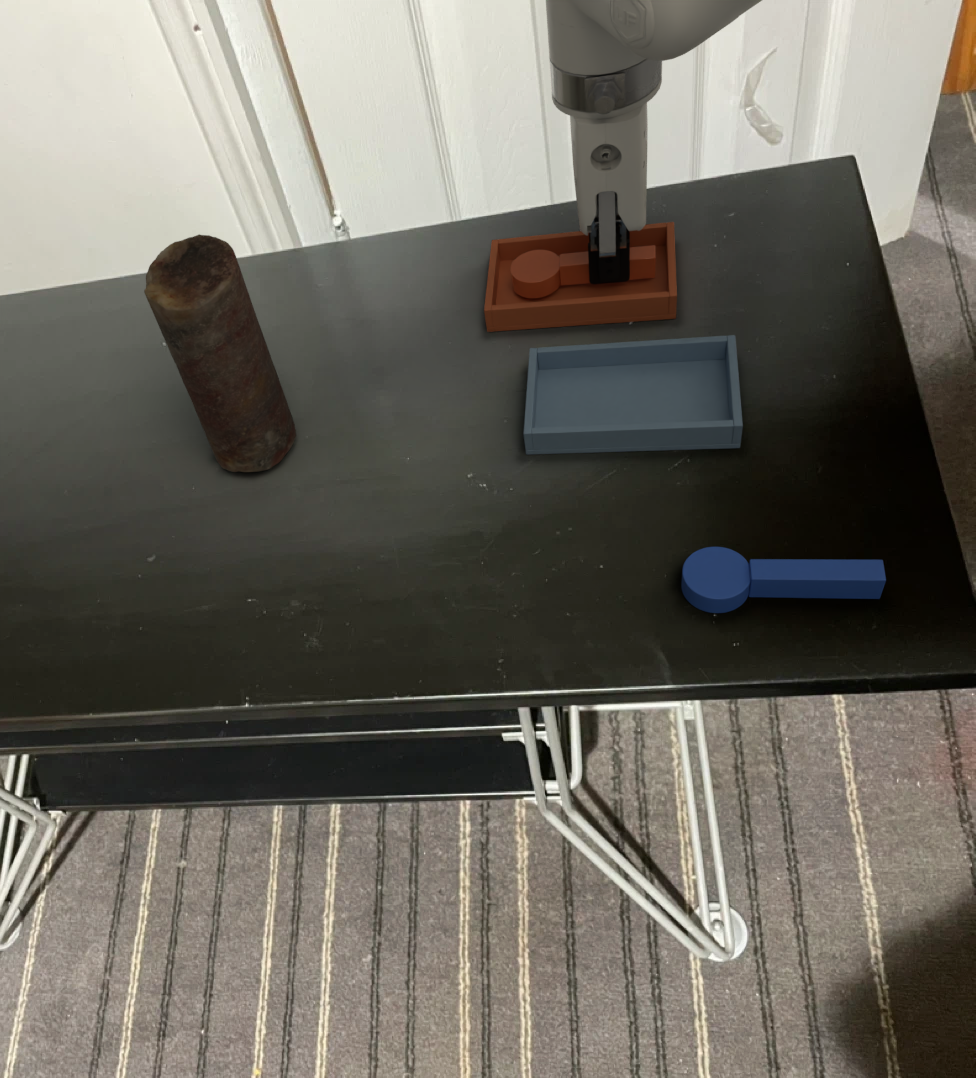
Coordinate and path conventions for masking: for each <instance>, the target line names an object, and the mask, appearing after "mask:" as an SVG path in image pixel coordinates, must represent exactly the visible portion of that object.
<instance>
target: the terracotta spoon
mask: <svg viewBox="0 0 976 1078" xmlns="http://www.w3.org/2000/svg"><path fill="white" fill-rule="evenodd" d="M655 268H656V249H655V245H651V246H640V247H630V279H629V280H634V279H646V278H655ZM510 271H511V279H512V287H513V290H514V291H515V292H516V293H517V294H518V295H520V296H522V297H525V298H541V297H545V296H547V295H550V294H551V293H553V292H554V291H556V290H557V289H558V288H559V286H560V285H561V286H563V285H575V284H587V283H590V282H589V260H588V251H587V252H577V253H566V254H560V258H559V257H558V256H557V255H556V254H555V253H553V252H551V251H548V250H532V251H529V252H526V253H523V254H521V255H520V256H518V257H517V258H516V259H515V260H514V261H513V263H512V265H511V268H510Z"/></svg>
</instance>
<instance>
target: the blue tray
mask: <svg viewBox="0 0 976 1078" xmlns="http://www.w3.org/2000/svg"><path fill="white" fill-rule="evenodd" d="M528 350H529V352H528V353H529V354H528V365H527V379H526V392H525V394H526V395H525V404H524V405H525V407H524V408H525V409H524V418H523V419H524V420H523V439H524V448H525V449H524V450H525V455H528V456H529V455H554V454H555V455H556V454H558V455H559V454H589V453H590V454H591V453H621V452H626V453H627V452H657V451H658V452H659V451H688V450H689V451H690V450H719V449H720V450H721V449H722V450H723V449H726V450H727V449H741V445H742V444H741V443H742V435H743V427H744V424H743V411H742V410H743V409H742V398H741V388H740V387H741V386H740V377H739V376H740V375H739V362H738V351H737V350H738V349H737V338H736V334H728V335H715V336H714V335H713V336H698V337H697V336H696V337H695V336H694V337H683V338H681V337H680V338H665V339H664V338H663V339H651V340H634V341H618V342H604V343H603V342H602V343H589V344H572V345H558V346H557V345H556V346H541V347H529V349H528Z"/></svg>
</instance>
